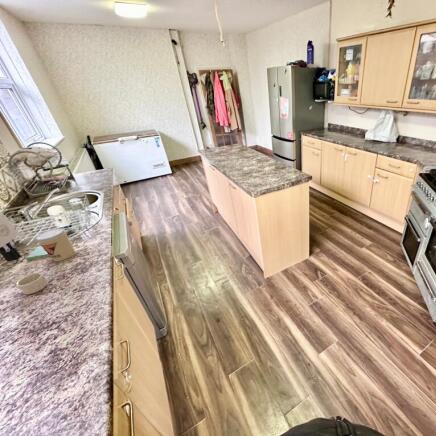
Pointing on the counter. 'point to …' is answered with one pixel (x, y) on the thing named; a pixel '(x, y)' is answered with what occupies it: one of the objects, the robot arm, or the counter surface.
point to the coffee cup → (56, 244)
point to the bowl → (32, 283)
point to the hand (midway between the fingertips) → (14, 259)
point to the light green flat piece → (37, 253)
